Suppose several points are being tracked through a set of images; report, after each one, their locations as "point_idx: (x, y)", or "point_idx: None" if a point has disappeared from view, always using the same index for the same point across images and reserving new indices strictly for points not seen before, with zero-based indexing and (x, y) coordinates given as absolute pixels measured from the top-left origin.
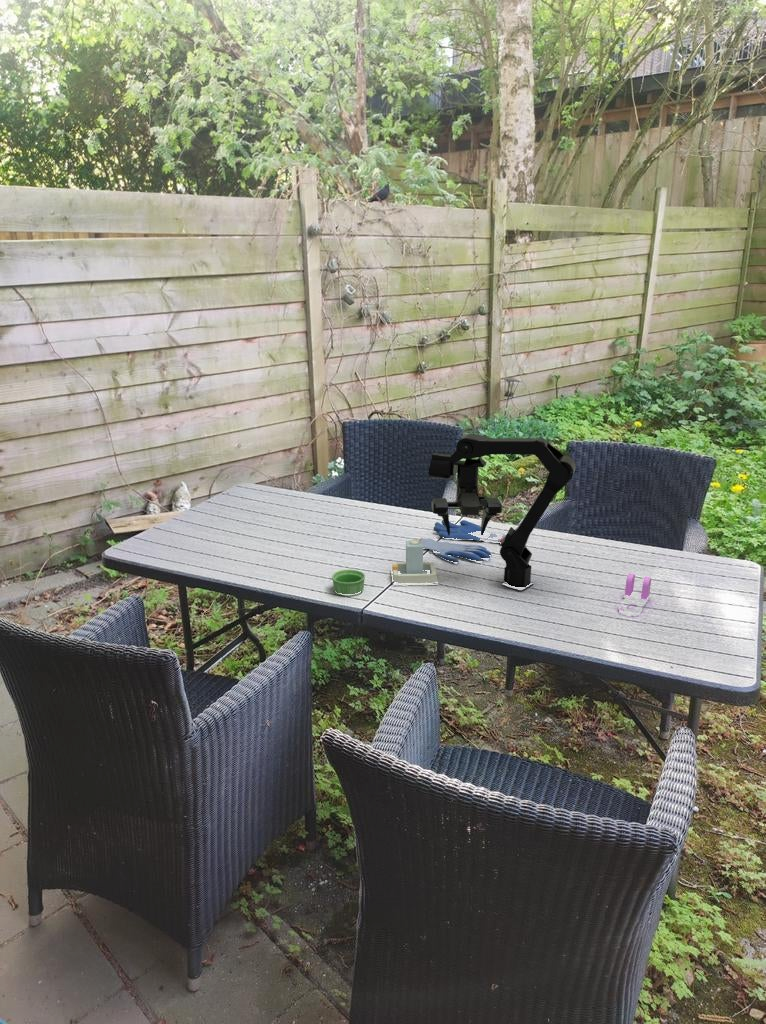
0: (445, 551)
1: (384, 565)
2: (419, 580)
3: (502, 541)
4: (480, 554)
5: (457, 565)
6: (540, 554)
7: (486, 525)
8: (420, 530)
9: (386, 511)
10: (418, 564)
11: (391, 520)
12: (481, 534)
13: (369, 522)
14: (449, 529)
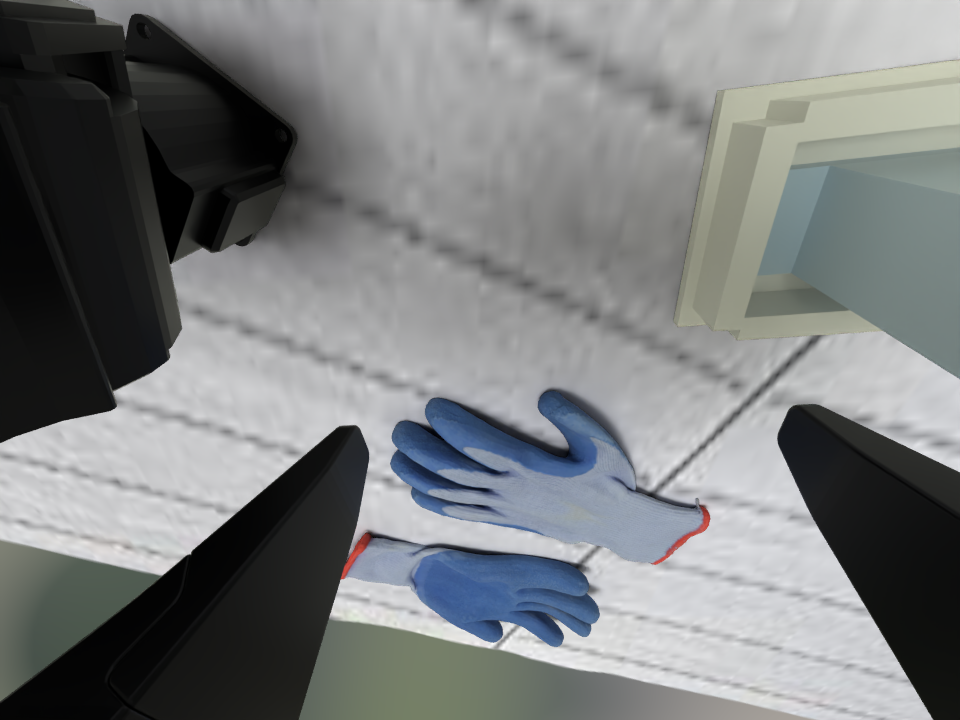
0: (587, 478)
1: (926, 369)
2: (892, 86)
3: (9, 244)
4: (434, 449)
5: (544, 380)
6: (211, 474)
7: (205, 544)
8: (633, 604)
9: (701, 677)
10: (958, 180)
11: (706, 646)
12: (353, 429)
13: (783, 641)
14: (897, 468)
